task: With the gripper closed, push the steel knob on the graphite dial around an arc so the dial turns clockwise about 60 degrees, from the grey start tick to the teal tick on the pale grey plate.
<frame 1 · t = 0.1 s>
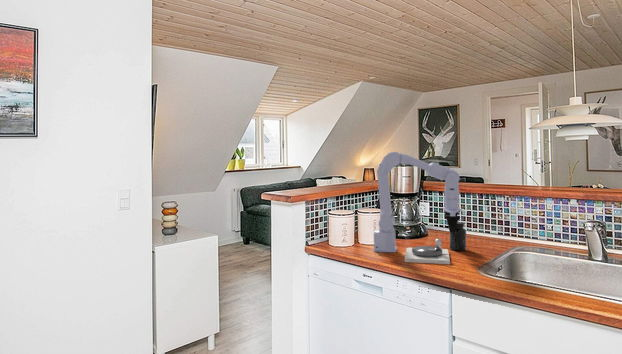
hand: (451, 230, 161), 10 cm above the counter, tool pointing down, fingers open, 7 cm apart
dial plate: (427, 257, 157), on the counter
dial: (426, 245, 157), point 5 cm above the counter, hinge at 0.0°
supplement bottle: (457, 249, 167), on the counter
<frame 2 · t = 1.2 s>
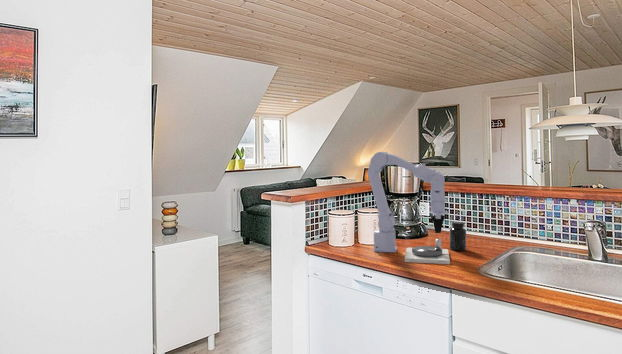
hand: (437, 232, 161), 9 cm above the counter, tool pointing down, fingers closed
nothing on the counter moved.
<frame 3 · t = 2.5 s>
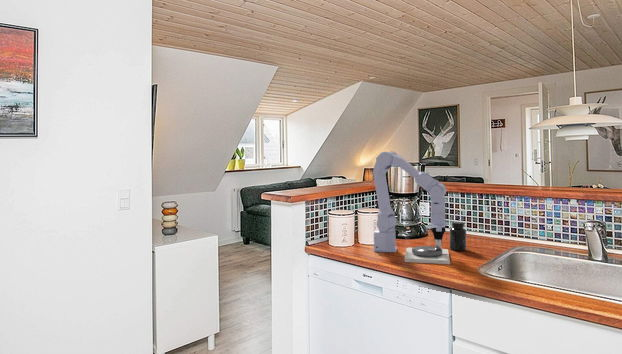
hand: (438, 245, 158), 5 cm above the counter, tool pointing down, fingers closed, pressing on dial
dial: (426, 245, 157), point 5 cm above the counter, hinge at 0.1°, touching gripper
everything else where it was.
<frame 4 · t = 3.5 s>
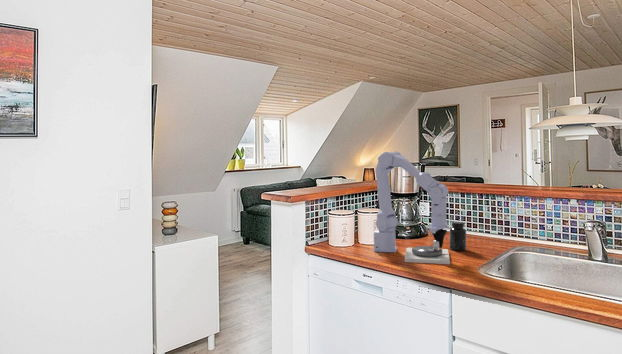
hand: (439, 247, 154), 5 cm above the counter, tool pointing down, fingers closed, pressing on dial
dial: (426, 245, 157), point 5 cm above the counter, hinge at 36.6°, touching gripper
everything else where it was.
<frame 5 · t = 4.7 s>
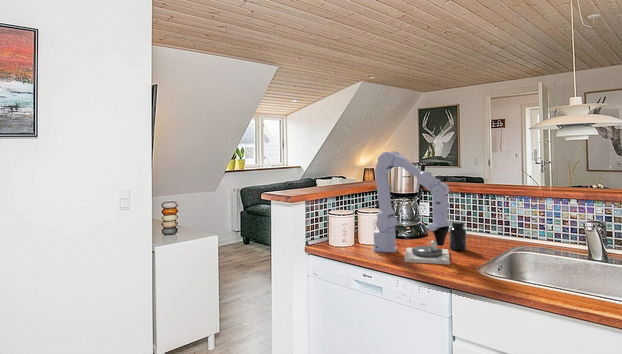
hand: (440, 245, 155), 5 cm above the counter, tool pointing down, fingers closed
dial: (426, 245, 157), point 5 cm above the counter, hinge at 53.0°
everything else where it was.
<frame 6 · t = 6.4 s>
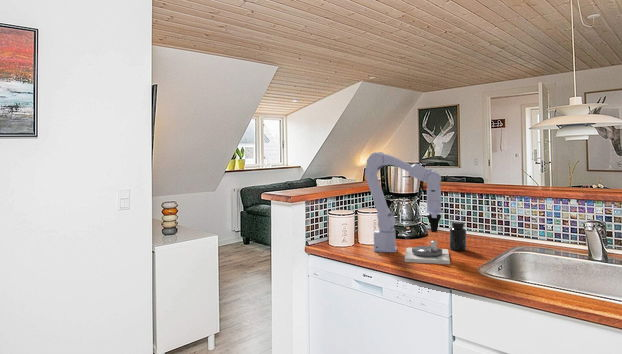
hand: (434, 231, 161), 9 cm above the counter, tool pointing down, fingers closed
nothing on the counter moved.
at the end: dial at +53° (first picture: +0°); supplement bottle moved 0.2 cm from its start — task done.
